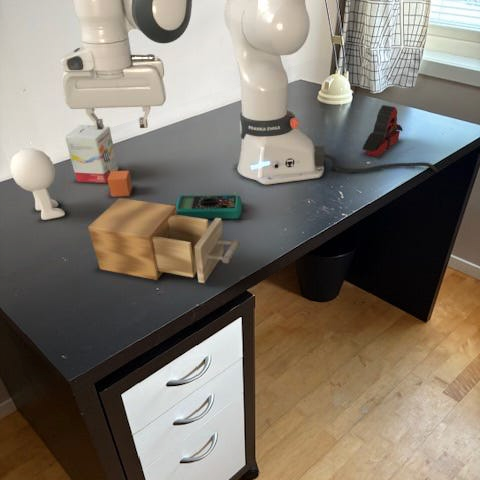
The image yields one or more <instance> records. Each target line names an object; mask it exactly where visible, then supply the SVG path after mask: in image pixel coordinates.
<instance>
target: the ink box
mask: <svg viewBox="0 0 480 480" xmlns="http://www.w3.org/2000/svg"><path fill="white" fill-rule="evenodd" d="M64 138H65V142H66V146H67V149H68V153H69V157H70V160H71V164H72V168H73V172H74V175H75V179H76V182H78V183H79V182H81V183H94V184H95V183H96V184H108V180H107V179H108V177H109V175H110V172H111V171H119V167H118V162H117V157H116V152H115V148H114V147H115V146H114V142H113V138H112V132H111V127H110V126H107V125H104V128H103V129H102V130H96V129H95V125H92V124H79V125H77V126H76V127H75V128H73V130H71V131H70V132H68V133H67V134H66V135H65V136H64Z"/></svg>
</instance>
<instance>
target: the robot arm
mask: <svg viewBox="0 0 480 480" xmlns="http://www.w3.org/2000/svg"><path fill="white" fill-rule="evenodd" d="M72 3H73V8H74V12H75V16H76V17H77V19H78V22H79V25H80V41H81V44H82V45H81V46H79V47H78V48H75V49H73V50H70V51H69V52H67V53H66V54H65V55H64V56H63V57H62V59H61V61H60V64H61V68H62V70H63V71H64V72H63V74H62V78H61V84H62V85H61V86H62V93H63V97H64V98H63V99H64V101H65V104H66V106H67V107H68V108H69V109H71V110H85V114H86V115H87V116H88V118H89V119H90V120H91V121H92V122H93V126H95V129H96V130H102V129H103V128H104V126H105V125H104V123H103V122H104V120H103V118H99V117H98V116H97V115H96V113H95V110H96V109H111V108H112V109H113V108H115V109H116V108H138V107H139V108H141V109H142V112H143V113H144V114H143V116H141V117H139V119H138V123H139V128H140V129H148V125H149V123H148V117H149V114H150V112H151V109H152V108H151V107H162V106H163V105H164V104H165V102H166V100H167V93H166V87H165V83H164V80H163V78H164V76H165V67H164V63H163V61H162V59H161V58H160V57H158V56H155V54H154V53H153V54H152V53H148V54H132V50H131V44H130V37H129V32H130V31H131V30H138V31H139V32H141V33H142V34H143V35H144V36H145V37H146V38H148V39H149V40H151V41H152V42H154V43H156V44H170V43H173V42H175V41H177V40H178V39H180V38H181V37H182V36H183V34H184V33H185V32H186V30H187V28H188V26H189V25H190V24H189V23H190V22H191V21H190V20H191V17H192V8H193V0H72ZM223 17H224V22H225V23H224V24H225V25H226V27H227V29H228V32H229V34H230V37H231V42H232V45H233V51H234V55H235V59H236V64H237V68H238V73H239V82H240V98H241V99H240V100H241V102H240V103H241V113H240V115H239V134H240V137H241V143H240V144H241V145H240V147H241V148H240V154H239V159H238V164H237V169H236V170H237V172H238V173H239V174H240V175H241V176H243V177H244V178H247V179H250V180H253V181H257V182H258V183H260V184H262V185H272V184H274V185H275V184H281V183H289V182H296V181H305V180H311V179H312V180H313V179H318V178H319V179H320V177H322V176H323V174H324V172H325V159H328V160H331V161H332V168H333V169H334V170H335V171H337V172H343V173H350V174H353V173H366V172H367V173H368V172H372V171H376V170H382V169H389V168H397V167H427V168H429V169H431V170H433V171H434V172H439V169H438V168H437V167H436V166H435V165H434V164H431V163H429V162H397V163H388V164H380V165H377V166H371V167H367V168H351V169H342V168H340V167H338V166H337V165H336V164H337V159H336V158H335V157H334V156H332V155H328V154H326V153H325V146H321V145H314V142H313V141H312V139H311V138H310V137H309V136H308V135H307V134H305V133H303V132H302V131H301V130H300V129H298V127H299V125H300V124H299V122H300V121H299V120H298V118H297V117H296V115H295V114H294V112H293V111H292V110H290V111H289V110H288V101H289V100H288V97H289V78H288V74H287V71H286V69H285V67H284V64H283V62H282V61H283V60H282V58H281V56H291V55H293V54H295V53H297V52H299V50H301V49H302V47H303V46H304V45H305V44H306V41H307V40H308V37H309V33H310V27H311V21H310V15H309V12H308V9H307V5H306V0H226V2H225V5H224V10H223Z"/></svg>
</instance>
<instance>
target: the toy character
mask: <svg viewBox="0 0 480 480" xmlns="http://www.w3.org/2000/svg"><path fill="white" fill-rule="evenodd" d="M9 167H10V172H11V177H12V178H13V180H14V182H15V183H16V185H18V186H19V187H20V188H22V189H23V190H24V191H28V192H32V194H33V197H34V202H35V203H34V207H35V210H36V211H40V218H41V220H45V221H47V220H51V219H56V218H57V219H58V218H61V217H64V216H65V215H66V213H65V211H64V210H63V209H62V208H60V207H58V206H59V203H58V202H57V200H55V199H52V198H51V195H50V192H49V190H48V189H49V188H50V187H51V186H52V185H53V183H54V182H55V179H56V169H55V165H54V163H53V161H52V159H51V157H50V156H49V155H47V153H45V152H44V151H43V150H39V149H37V148H24V149H21V150H19V151H17V152H16V153H15V154H14V155H13V156H12V158H11V161H10V166H9Z"/></svg>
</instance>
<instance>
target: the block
mask: <svg viewBox="0 0 480 480" xmlns="http://www.w3.org/2000/svg"><path fill="white" fill-rule="evenodd" d="M107 180H108V182H107V184H108V188H109V192H110V196H111V197H112V198H113V197H130V196H131V193H132V189H133V184H132V178H131V173H130V171H129V170H117V171H111V172H110V175H109V177H108V179H107Z"/></svg>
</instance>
